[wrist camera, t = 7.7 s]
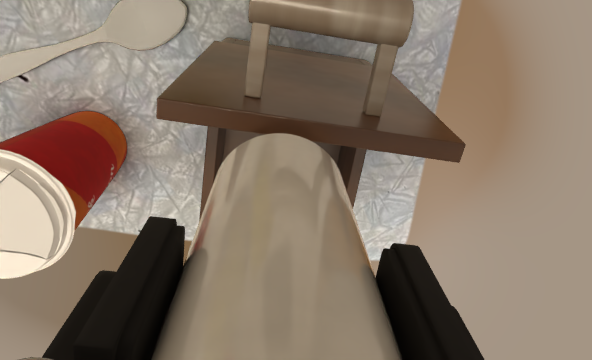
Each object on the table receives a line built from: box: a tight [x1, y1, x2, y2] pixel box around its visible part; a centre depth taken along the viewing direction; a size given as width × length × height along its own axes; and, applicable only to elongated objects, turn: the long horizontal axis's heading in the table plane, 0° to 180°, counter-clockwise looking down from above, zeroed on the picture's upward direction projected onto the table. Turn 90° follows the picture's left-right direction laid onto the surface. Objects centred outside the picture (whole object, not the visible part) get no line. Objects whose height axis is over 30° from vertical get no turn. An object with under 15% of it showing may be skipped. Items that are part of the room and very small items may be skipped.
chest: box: [199, 38, 373, 222], centre depth 36 cm, size 14×12×7 cm
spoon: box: [0, 0, 187, 83], centre depth 35 cm, size 4×21×2 cm, turn 107°
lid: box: [156, 0, 465, 163], centre depth 22 cm, size 14×12×5 cm
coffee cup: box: [0, 111, 127, 279], centre depth 32 cm, size 8×8×15 cm
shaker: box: [149, 133, 403, 360], centre depth 11 cm, size 4×4×10 cm
